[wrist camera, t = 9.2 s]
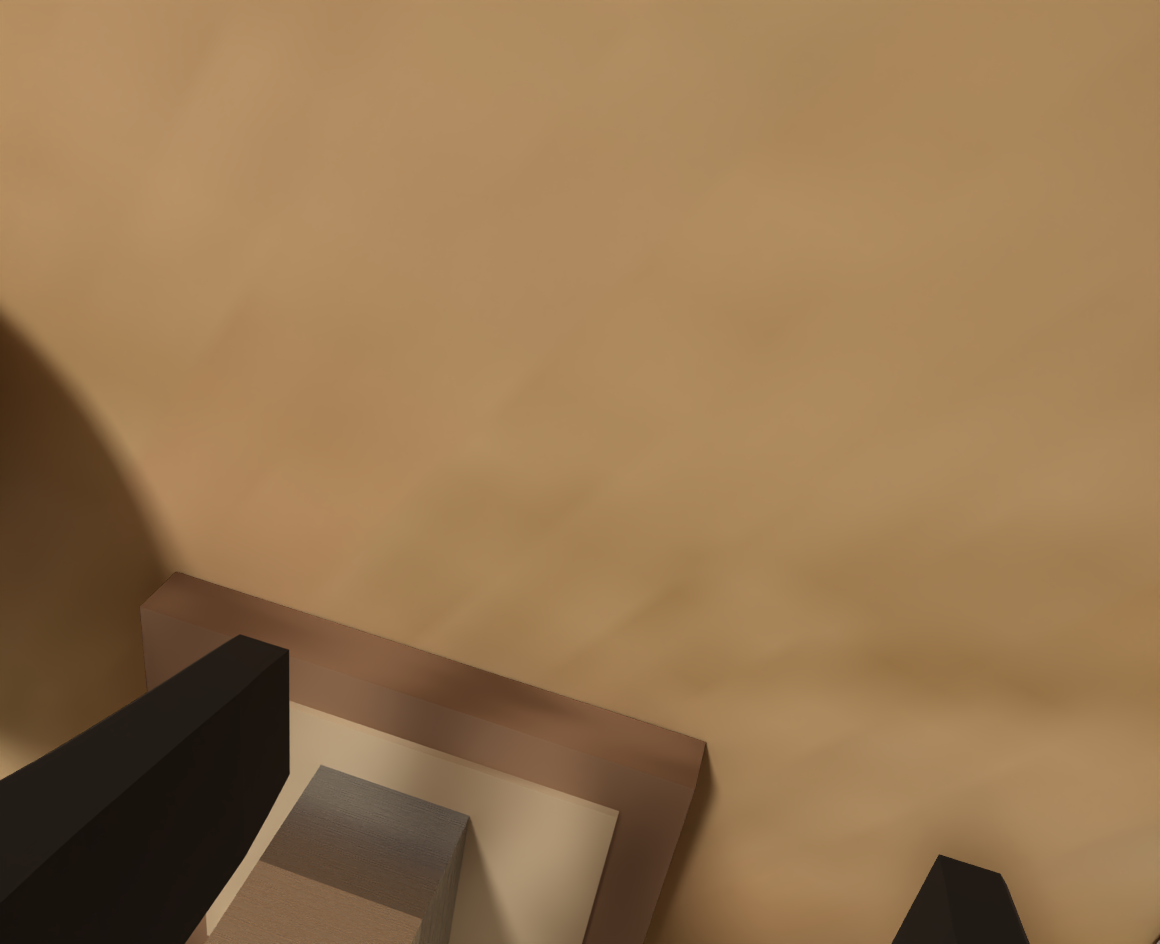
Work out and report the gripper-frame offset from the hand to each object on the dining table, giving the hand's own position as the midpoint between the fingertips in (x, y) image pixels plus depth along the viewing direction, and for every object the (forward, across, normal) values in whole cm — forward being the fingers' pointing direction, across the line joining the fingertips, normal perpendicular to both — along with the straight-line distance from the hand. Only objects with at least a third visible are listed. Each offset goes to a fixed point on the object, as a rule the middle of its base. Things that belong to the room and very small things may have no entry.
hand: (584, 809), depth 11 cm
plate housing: (+9, +6, +16) cm, 19 cm away
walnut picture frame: (+10, +6, +16) cm, 20 cm away
